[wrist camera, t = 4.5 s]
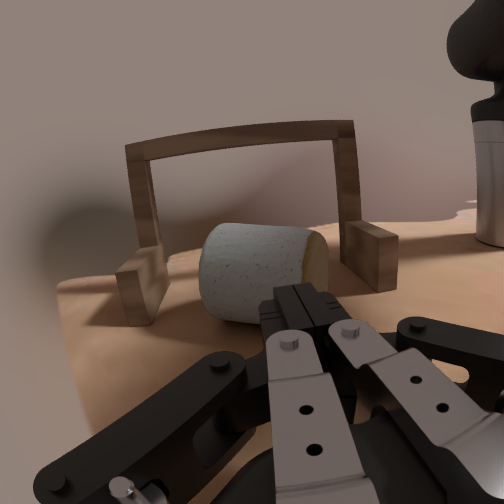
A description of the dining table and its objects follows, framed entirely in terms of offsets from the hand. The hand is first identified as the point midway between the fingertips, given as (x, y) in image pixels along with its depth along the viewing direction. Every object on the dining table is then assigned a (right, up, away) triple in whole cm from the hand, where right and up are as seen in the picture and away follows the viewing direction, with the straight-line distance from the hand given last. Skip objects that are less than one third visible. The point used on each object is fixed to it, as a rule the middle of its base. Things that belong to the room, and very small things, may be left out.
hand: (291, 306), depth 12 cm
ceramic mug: (0, -3, +13) cm, 13 cm away
